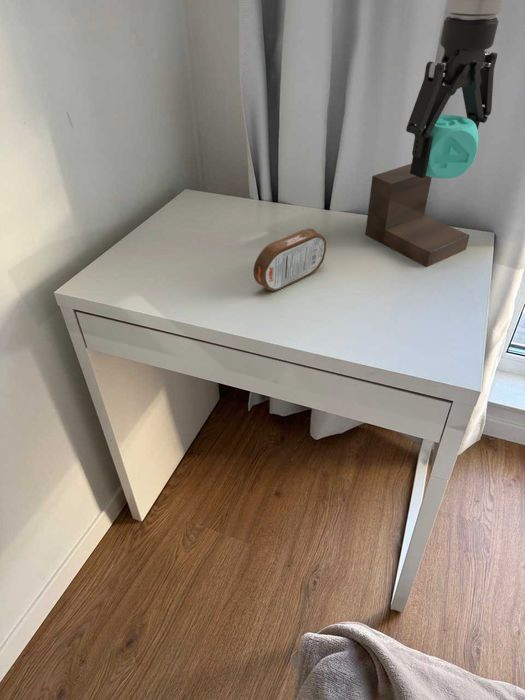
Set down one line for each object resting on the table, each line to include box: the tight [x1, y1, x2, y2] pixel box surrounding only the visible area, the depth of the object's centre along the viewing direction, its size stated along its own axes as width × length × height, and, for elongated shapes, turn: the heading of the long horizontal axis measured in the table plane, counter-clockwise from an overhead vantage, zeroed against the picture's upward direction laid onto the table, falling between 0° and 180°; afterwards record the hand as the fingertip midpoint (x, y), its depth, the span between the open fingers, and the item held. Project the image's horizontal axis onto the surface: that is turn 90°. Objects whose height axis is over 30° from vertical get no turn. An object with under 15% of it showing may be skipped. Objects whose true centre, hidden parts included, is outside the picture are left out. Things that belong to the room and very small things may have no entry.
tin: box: [253, 227, 327, 292], centre depth 85 cm, size 15×3×8 cm, turn 130°
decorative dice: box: [425, 114, 479, 179], centre depth 84 cm, size 8×8×8 cm
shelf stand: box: [364, 163, 470, 268], centre depth 94 cm, size 16×11×12 cm
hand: (440, 167), depth 86 cm, fingers closed on decorative dice, 11 cm apart
